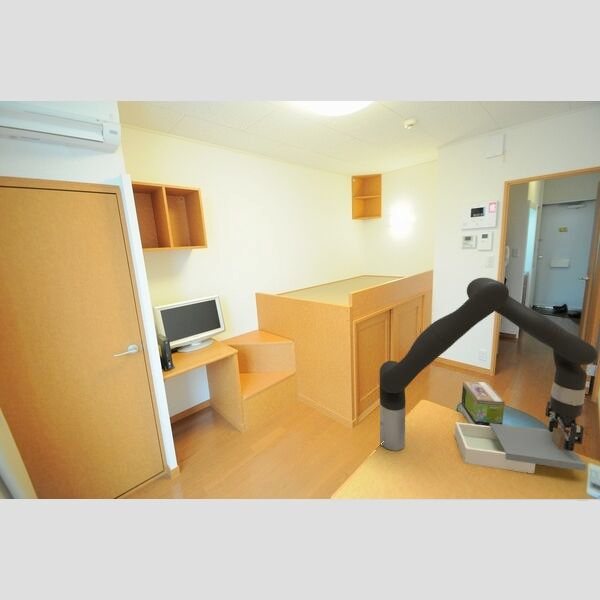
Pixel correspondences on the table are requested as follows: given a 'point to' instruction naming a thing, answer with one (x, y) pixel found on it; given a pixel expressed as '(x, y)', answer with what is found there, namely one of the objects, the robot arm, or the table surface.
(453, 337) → the robot arm
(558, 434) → the lid
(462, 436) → the box
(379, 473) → the table surface
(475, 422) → the tea box
